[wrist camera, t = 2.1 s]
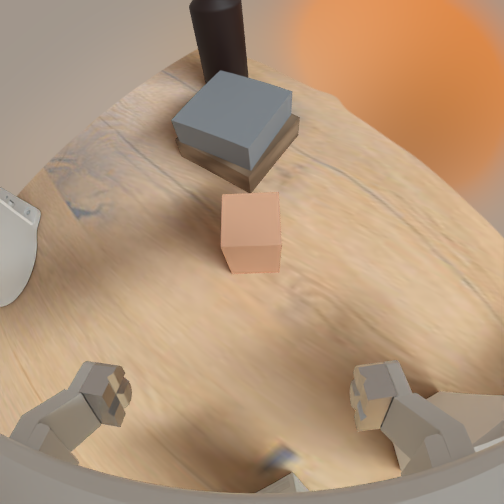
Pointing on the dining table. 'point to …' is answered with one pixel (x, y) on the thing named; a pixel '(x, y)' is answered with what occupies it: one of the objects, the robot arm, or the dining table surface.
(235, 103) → the tower top block
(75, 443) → the robot arm
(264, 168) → the tower base block
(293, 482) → the supplement box
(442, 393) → the milk carton
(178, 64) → the dining table surface
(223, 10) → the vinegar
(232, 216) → the terracotta block
